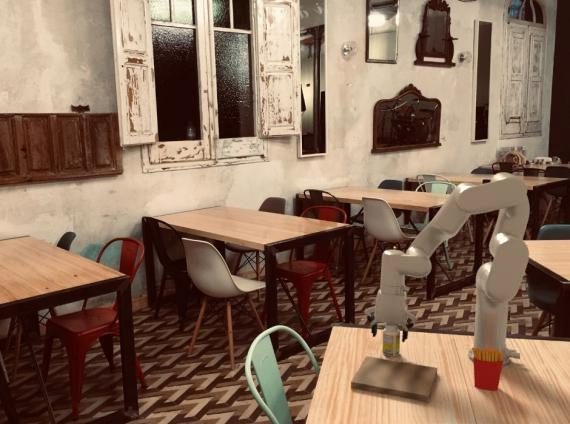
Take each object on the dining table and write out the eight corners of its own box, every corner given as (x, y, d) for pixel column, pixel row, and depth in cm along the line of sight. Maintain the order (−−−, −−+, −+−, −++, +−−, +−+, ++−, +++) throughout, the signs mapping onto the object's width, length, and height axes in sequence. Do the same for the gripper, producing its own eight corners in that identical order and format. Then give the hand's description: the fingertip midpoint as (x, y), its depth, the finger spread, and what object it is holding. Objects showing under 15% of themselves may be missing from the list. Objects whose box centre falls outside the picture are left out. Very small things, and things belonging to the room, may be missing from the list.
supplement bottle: (396, 349, 187) (397, 320, 185) (401, 356, 181) (402, 327, 179) (380, 350, 186) (381, 321, 184) (384, 357, 181) (385, 328, 179)
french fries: (500, 386, 162) (503, 347, 160) (501, 392, 158) (503, 353, 156) (470, 381, 165) (472, 343, 162) (469, 387, 161) (472, 348, 159)
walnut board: (437, 373, 169) (437, 367, 169) (428, 402, 153) (428, 395, 153) (366, 361, 178) (366, 356, 177) (350, 388, 161) (351, 381, 161)
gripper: (421, 288, 180) (417, 338, 183) (368, 281, 186) (366, 329, 189) (417, 295, 173) (413, 347, 176) (363, 288, 179) (360, 337, 182)
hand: (389, 338), depth 183 cm, fingers open, 9 cm apart
